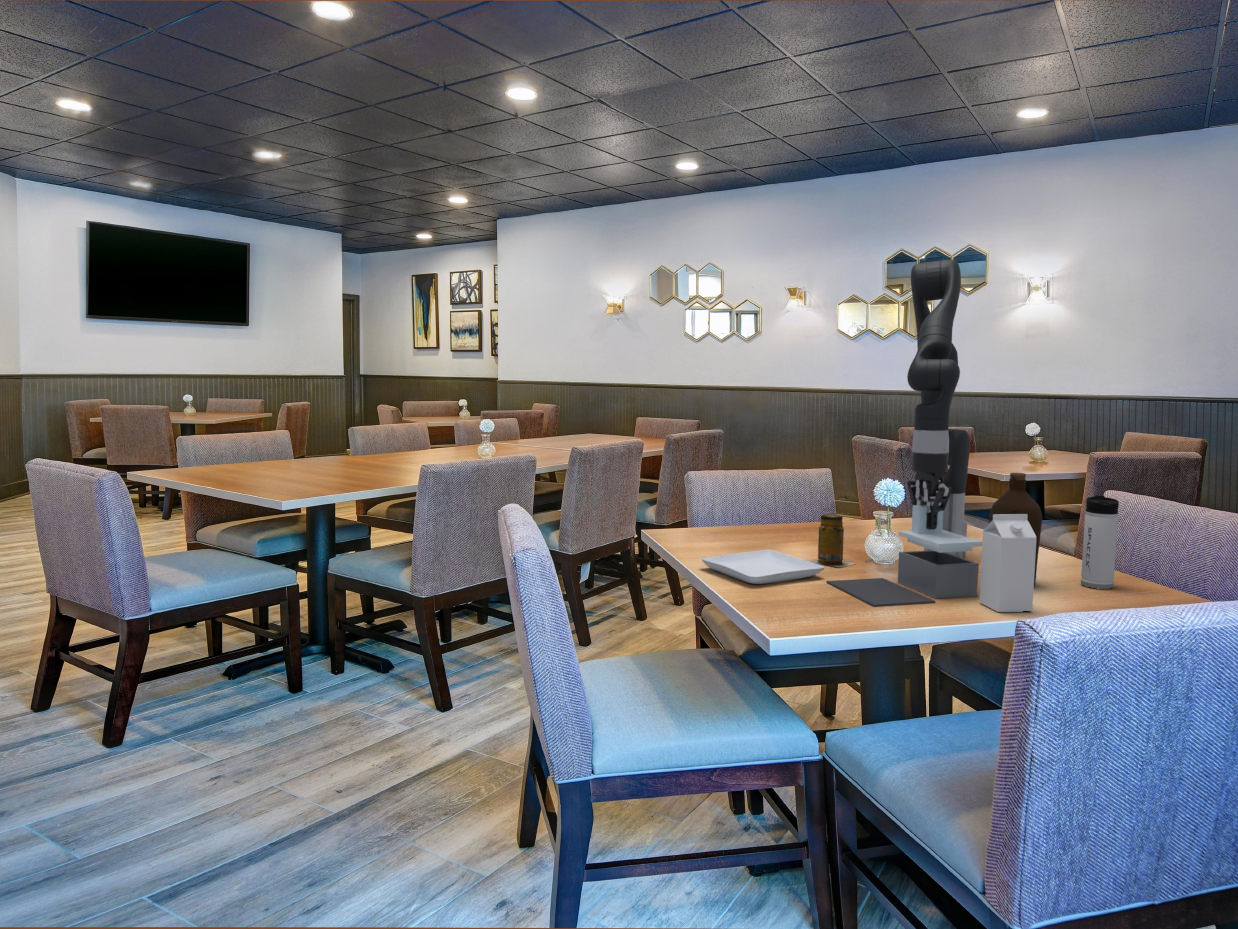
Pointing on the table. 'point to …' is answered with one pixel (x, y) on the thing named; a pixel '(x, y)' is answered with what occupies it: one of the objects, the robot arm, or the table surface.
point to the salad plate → (763, 566)
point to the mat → (880, 592)
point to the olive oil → (1020, 507)
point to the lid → (936, 534)
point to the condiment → (831, 541)
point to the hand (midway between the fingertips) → (927, 527)
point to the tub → (938, 574)
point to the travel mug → (1099, 542)
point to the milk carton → (1008, 564)
